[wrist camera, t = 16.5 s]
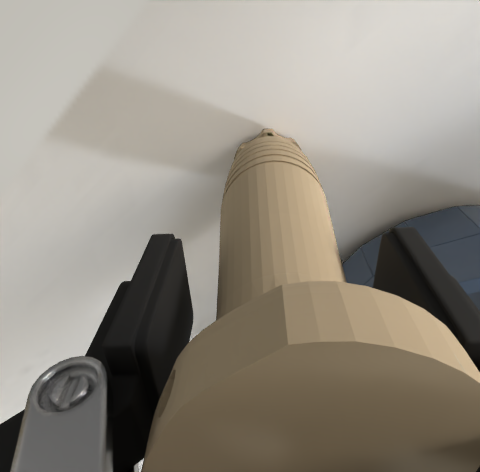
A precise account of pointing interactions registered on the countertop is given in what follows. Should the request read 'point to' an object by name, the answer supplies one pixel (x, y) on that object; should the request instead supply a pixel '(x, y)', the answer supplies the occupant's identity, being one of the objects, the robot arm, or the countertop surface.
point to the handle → (309, 350)
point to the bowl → (433, 248)
